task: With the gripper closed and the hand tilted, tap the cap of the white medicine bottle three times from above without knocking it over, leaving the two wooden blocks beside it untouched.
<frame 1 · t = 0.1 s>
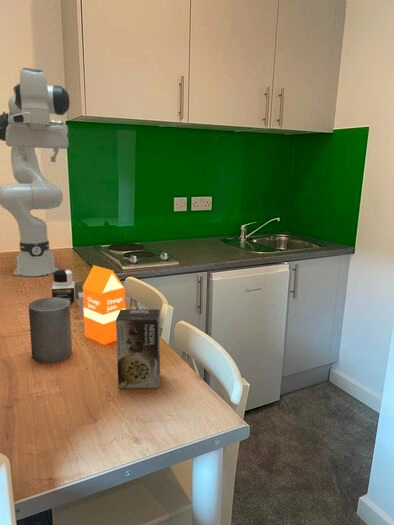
hand: (39, 161, 137), 48 cm above the table, tool pointing down, fingers open, 8 cm apart
walnut block: (80, 295, 145), on the table
grey painted block: (86, 308, 133), on the table
pillar candle: (52, 355, 100), on the table
orange juice: (105, 336, 111), on the table
medicine bottle: (64, 304, 136), on the table
coffee box: (139, 381, 88), on the table
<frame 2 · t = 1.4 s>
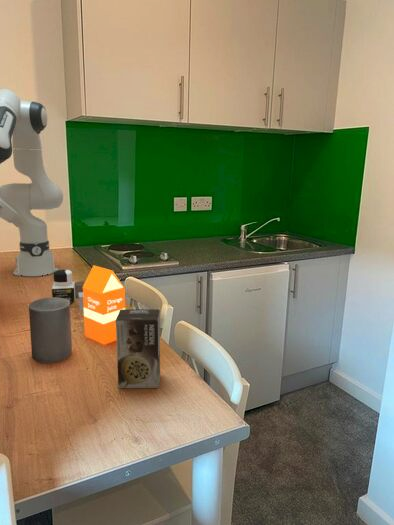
hand: (22, 227, 124), 27 cm above the table, tool tilted 45°, fingers open, 8 cm apart
nothing on the table moved.
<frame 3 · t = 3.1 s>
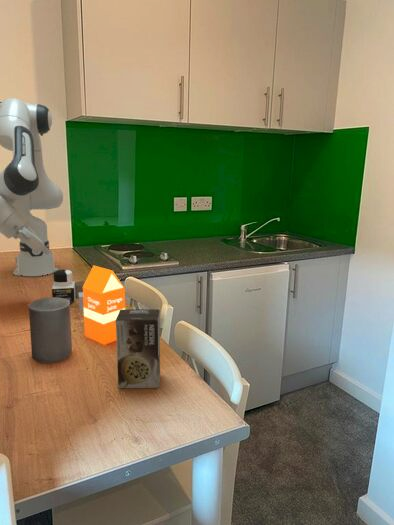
hand: (48, 252, 129), 19 cm above the table, tool tilted 45°, fingers closed
nothing on the table moved.
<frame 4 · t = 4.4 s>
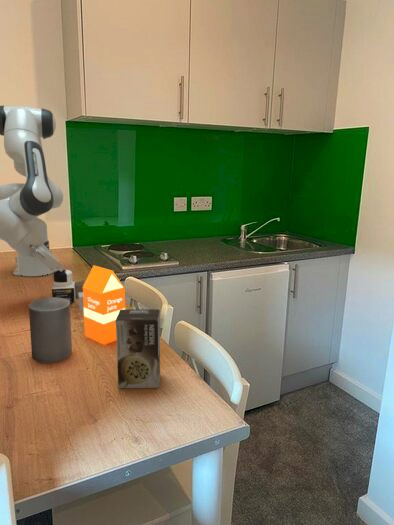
hand: (62, 269, 133), 13 cm above the table, tool tilted 45°, fingers closed, pressing on medicine bottle
medicine bottle: (64, 304, 136), on the table, touching gripper
everything else where it was.
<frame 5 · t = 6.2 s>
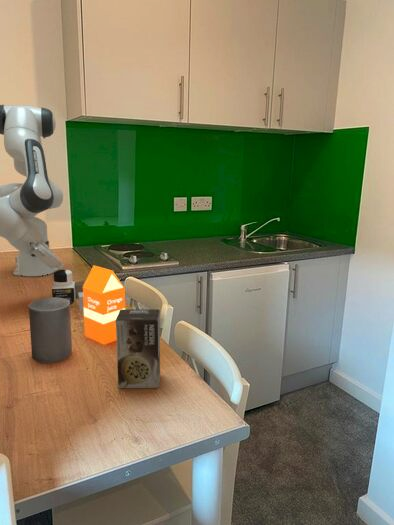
hand: (62, 267, 133), 13 cm above the table, tool tilted 45°, fingers closed
medicine bottle: (64, 304, 136), on the table
everything else where it was.
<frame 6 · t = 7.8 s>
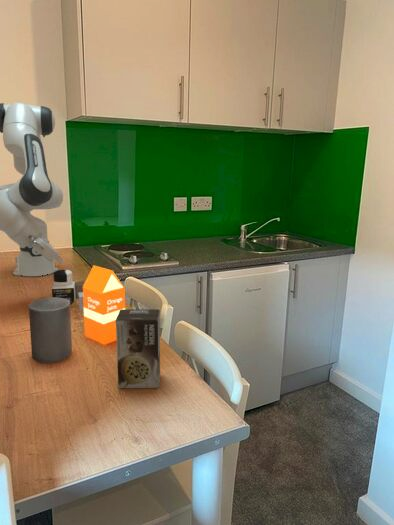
hand: (61, 261, 132), 15 cm above the table, tool tilted 45°, fingers closed
nothing on the table moved.
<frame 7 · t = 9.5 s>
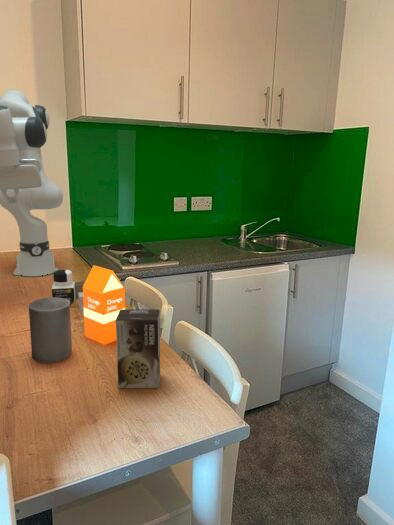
hand: (12, 202, 130), 34 cm above the table, tool pointing down, fingers closed
nothing on the table moved.
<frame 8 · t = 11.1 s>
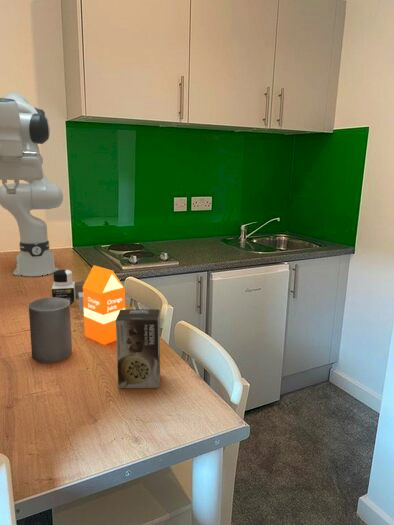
hand: (11, 194, 130), 37 cm above the table, tool pointing down, fingers closed
nothing on the table moved.
at the end: medicine bottle moved 0.2 cm from its start; medicine bottle tilted 0°; walnut block moved 0.1 cm from its start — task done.
